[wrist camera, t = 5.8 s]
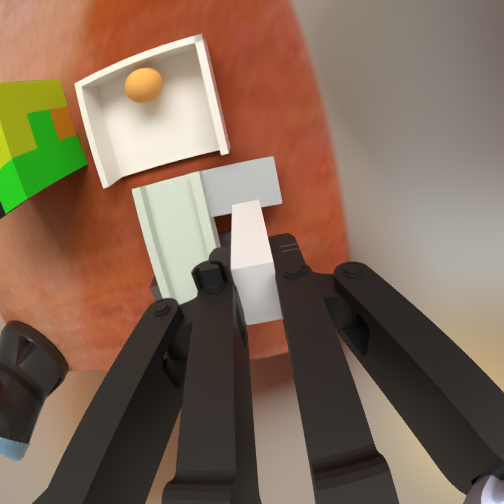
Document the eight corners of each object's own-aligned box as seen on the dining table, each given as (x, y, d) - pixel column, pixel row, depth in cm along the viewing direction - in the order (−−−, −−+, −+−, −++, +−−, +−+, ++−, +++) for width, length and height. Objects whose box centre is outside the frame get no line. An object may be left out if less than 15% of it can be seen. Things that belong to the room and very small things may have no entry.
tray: (118, 177, 24) (103, 188, 21) (93, 84, 20) (74, 83, 17) (230, 147, 24) (228, 153, 21) (207, 43, 19) (201, 34, 16)
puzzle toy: (4, 126, 20) (-56, 147, 11) (60, 79, 19) (-8, 83, 10) (30, 198, 25) (-25, 238, 16) (88, 163, 24) (27, 198, 15)
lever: (304, 351, 29) (308, 368, 26) (197, 366, 30) (193, 383, 27) (272, 156, 23) (274, 155, 20) (141, 187, 24) (128, 190, 21)
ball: (127, 72, 19) (137, 102, 21) (114, 78, 16) (126, 112, 19) (160, 59, 19) (170, 91, 21) (151, 64, 16) (163, 100, 18)
